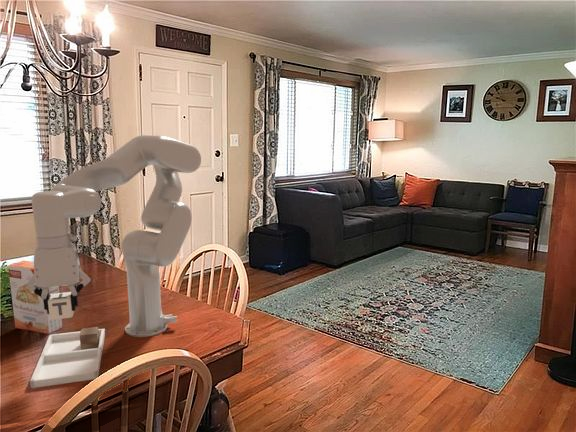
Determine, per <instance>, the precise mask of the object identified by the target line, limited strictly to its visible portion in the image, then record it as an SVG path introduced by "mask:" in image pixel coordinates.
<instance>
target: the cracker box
mask: <svg viewBox="0 0 576 432" xmlns="http://www.w3.org/2000/svg"><path fill="white" fill-rule="evenodd" d="M7 269H8V270H7V271H8V276H9V284H10V293H11V300H12V310H13V311H12V312H13V319H14V325H15V326H14V327H15V329H19V330H24V331H26V330H27V331H32V332H36V333H39V334H40V333H42V334H46V335H51V334H52V333H54V332H56V331H58V330H61V329H62V328H64V325H63V323H64V322H63V319H55V320H50V315H49V314H47V310H45V309H44V302H43V299H42V298H41V297H40V296H39V295H37V294H36V293H34V292H33V291H31V290H29V289H27V288H26V285H27V284H28V282H29V281H30V280H31V278H32V277H33V276H34V261H30V260H20V261H17V262H14V263H10V264H8V266H7ZM34 284H35V283H34ZM41 289H43V288H41ZM48 293H49V295H51V294H55V293H61V292H60V286H59V287H50V288H49V292H48Z"/></svg>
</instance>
